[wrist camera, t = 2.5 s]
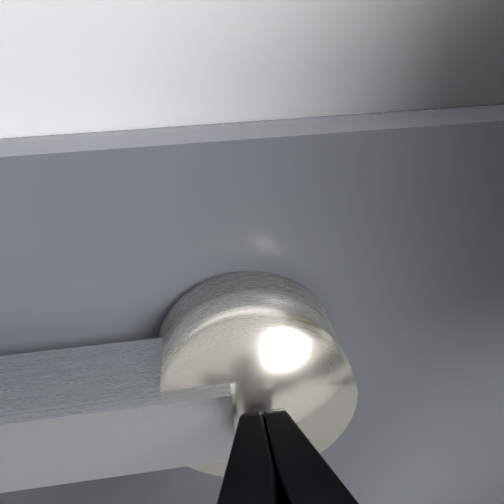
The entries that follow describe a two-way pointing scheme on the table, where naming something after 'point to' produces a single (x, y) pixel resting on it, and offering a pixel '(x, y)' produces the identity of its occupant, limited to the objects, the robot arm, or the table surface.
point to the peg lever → (176, 387)
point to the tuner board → (284, 274)
